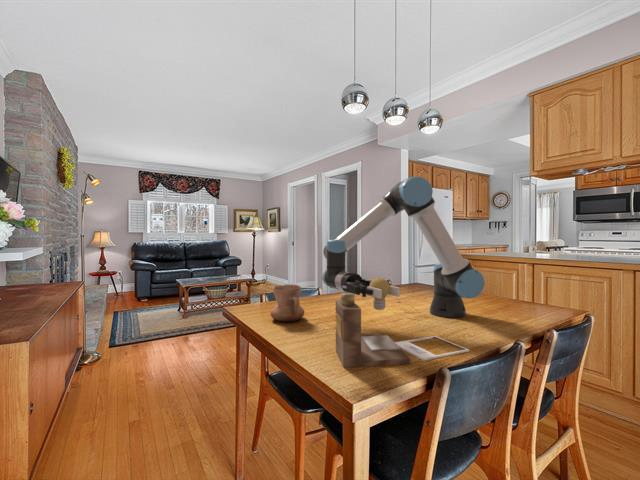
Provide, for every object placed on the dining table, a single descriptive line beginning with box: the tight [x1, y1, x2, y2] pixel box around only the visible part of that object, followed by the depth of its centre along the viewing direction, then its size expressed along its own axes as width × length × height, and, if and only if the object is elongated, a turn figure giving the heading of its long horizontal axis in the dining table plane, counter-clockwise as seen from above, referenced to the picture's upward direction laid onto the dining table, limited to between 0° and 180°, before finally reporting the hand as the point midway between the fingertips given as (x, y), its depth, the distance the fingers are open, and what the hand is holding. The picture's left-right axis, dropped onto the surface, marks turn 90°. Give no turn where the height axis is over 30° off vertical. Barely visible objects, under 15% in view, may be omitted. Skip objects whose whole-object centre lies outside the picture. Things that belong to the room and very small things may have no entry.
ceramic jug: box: [269, 283, 305, 323], centre depth 133 cm, size 18×14×14 cm
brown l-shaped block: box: [335, 292, 411, 369], centre depth 97 cm, size 19×22×19 cm
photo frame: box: [394, 335, 470, 362], centre depth 100 cm, size 15×1×18 cm
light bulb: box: [369, 277, 390, 311], centre depth 100 cm, size 6×6×10 cm
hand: (389, 293), depth 95 cm, fingers closed on light bulb, 6 cm apart
